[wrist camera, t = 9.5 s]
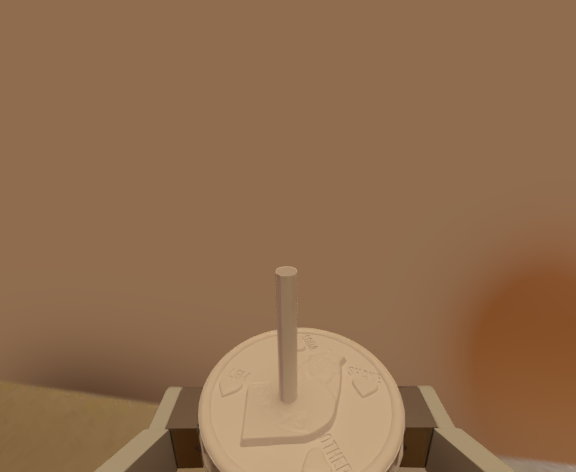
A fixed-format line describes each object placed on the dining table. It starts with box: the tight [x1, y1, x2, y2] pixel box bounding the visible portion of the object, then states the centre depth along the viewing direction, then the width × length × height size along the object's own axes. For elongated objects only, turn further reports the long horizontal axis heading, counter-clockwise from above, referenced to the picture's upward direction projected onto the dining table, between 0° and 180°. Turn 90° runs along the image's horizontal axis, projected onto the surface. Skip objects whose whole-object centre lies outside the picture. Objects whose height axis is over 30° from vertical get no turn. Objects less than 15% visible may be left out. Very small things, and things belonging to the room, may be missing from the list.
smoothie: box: [198, 266, 405, 472], centre depth 10 cm, size 6×6×14 cm
